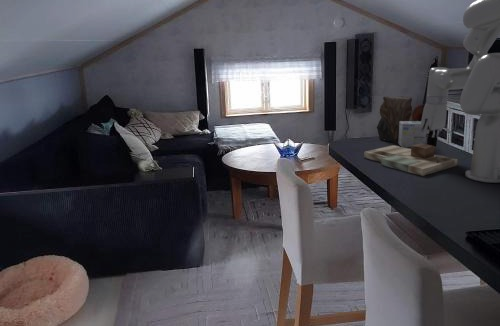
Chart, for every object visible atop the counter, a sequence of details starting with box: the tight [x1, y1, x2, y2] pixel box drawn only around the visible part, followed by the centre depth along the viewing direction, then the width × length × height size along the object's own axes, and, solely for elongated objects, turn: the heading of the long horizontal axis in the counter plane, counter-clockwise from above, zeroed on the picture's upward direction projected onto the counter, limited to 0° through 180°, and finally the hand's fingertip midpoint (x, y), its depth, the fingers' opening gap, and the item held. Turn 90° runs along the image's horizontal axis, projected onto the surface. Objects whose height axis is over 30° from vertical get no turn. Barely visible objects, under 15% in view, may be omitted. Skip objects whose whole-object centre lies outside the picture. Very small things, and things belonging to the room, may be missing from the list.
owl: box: [376, 96, 413, 143], centre depth 207 cm, size 13×13×20 cm
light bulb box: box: [397, 120, 427, 148], centre depth 194 cm, size 11×7×11 cm, turn 84°
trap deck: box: [363, 144, 459, 177], centre depth 170 cm, size 29×21×2 cm
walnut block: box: [410, 143, 436, 159], centre depth 168 cm, size 6×6×4 cm
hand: (431, 146), depth 174 cm, fingers closed
